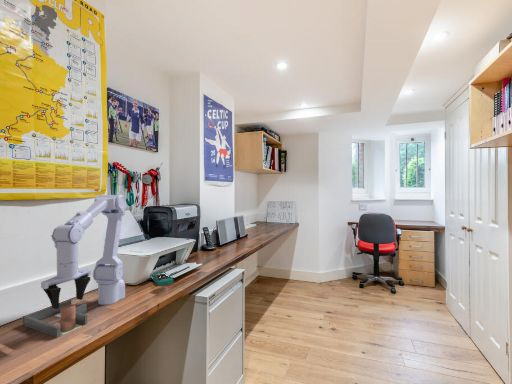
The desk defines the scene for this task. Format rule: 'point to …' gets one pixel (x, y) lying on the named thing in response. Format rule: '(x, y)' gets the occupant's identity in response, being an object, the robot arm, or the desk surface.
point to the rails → (34, 318)
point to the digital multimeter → (162, 279)
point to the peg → (67, 318)
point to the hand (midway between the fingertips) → (68, 303)
